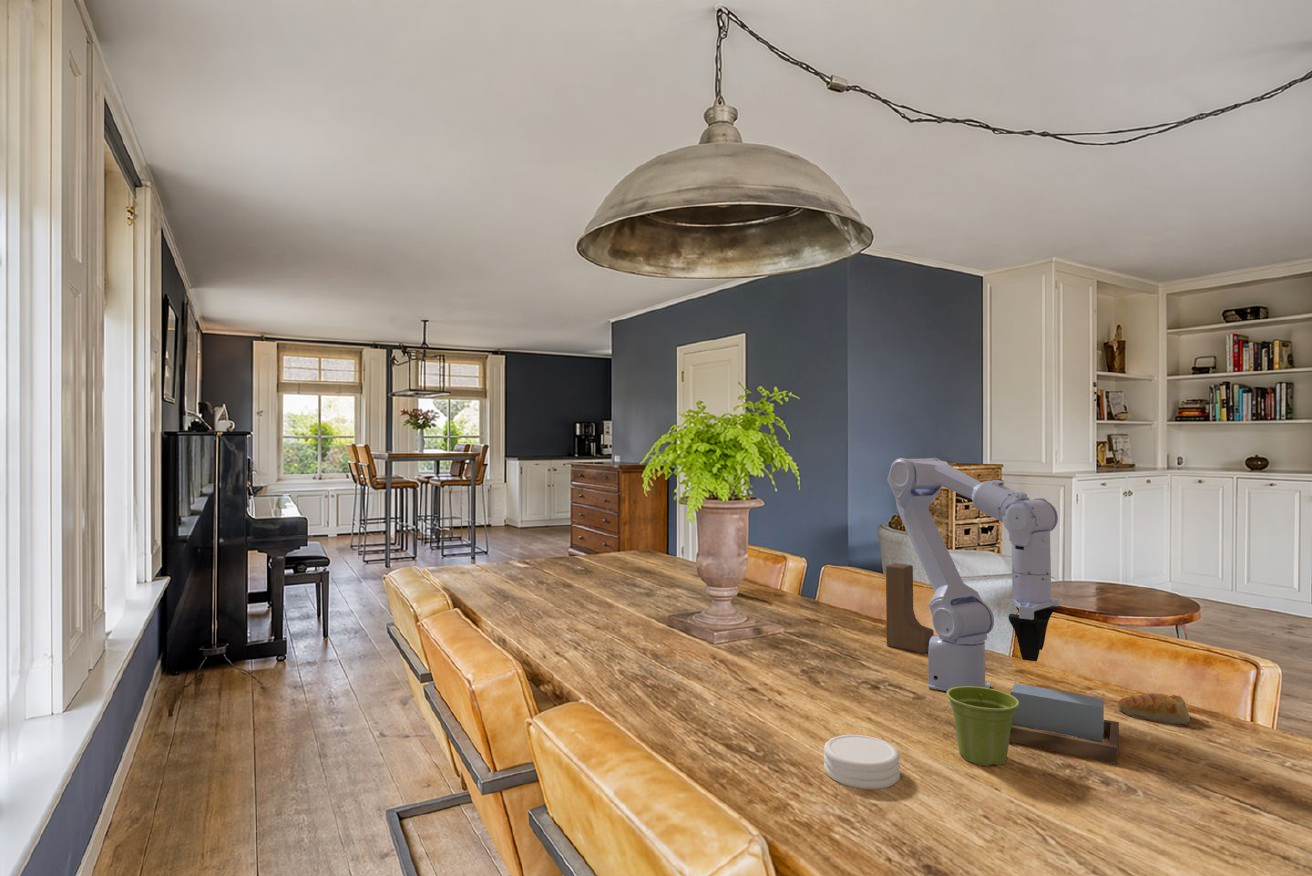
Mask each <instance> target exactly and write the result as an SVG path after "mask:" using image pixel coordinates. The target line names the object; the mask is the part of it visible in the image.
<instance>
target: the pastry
mask: <svg viewBox="0 0 1312 876" xmlns="http://www.w3.org/2000/svg"><path fill="white" fill-rule="evenodd" d="M1117 709H1118V710H1120V711H1121V712H1122V713H1124V714H1126V715H1128V716H1130V717H1131V718H1132V717H1133V718H1139V719H1144V720H1146V721H1147V720H1148V721H1151V722H1160V723H1168V724H1175V725H1176V724H1177V725H1188V723H1189V722H1190V720H1191V719H1190V718H1191V717H1190V714H1189V710H1188V708H1187V706H1186V702H1185V700H1184V699H1183V697H1182V696H1181V695H1175V694H1172V695H1168V694H1164V693H1163V694H1162V693H1156V692H1148V693H1146V694H1145V693H1143V694H1141V695H1139V694H1138V695H1134V694H1133V695H1131V696H1127V697H1126V696H1125V697H1122V698H1120V699H1119V700H1118V702H1117Z"/></svg>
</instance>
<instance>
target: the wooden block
mask: <svg viewBox="0 0 1312 876" xmlns="http://www.w3.org/2000/svg"><path fill="white" fill-rule="evenodd" d="M885 608H886V609H885V610H886V611H885V612H886V613H885V614H886V615H885V616H886V621H885V622H886V623H885V624H886V646H888V647H890V646H891V647H890V648H895V649H900V650H906V651H909V650H910V651H911V652H914V651H915V652H916V653H919V652H920V654H924V653H925V654H928V653H927V652H928V650H929V642H930V639H931V637H932V636H935V634H934V631H935V630H934V629H932V628H930V627H927V626H926V625H925V626H924V625H922V624H921V622H920V621H919V620H918V619H917V618H916V615H915V611H914V567H913V565H912V564H905V563H898V562H895V563H891V564H888V565H886V566H885Z"/></svg>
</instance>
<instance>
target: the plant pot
mask: <svg viewBox="0 0 1312 876" xmlns="http://www.w3.org/2000/svg"><path fill="white" fill-rule="evenodd" d="M946 697H947V699H948V700H949V701H950V706H951V708H952V713H953V719H954V720H953V721H954V726H955V732H956V739H957V746H958V752H959V753H958V754H959V755H960V756H962V757H963V758H964V759H965V761H968V762H970V763H972V764H977V765H980V766H986V767H989V766H991V765H997V766H1002V765H1004V764H1006V762H1007V760H1008V751H1009V743H1010V741H1009V738H1010V731H1011V725H1013V724H1012V719H1013V716H1014V715H1015V709H1016V708H1017V707H1018V706H1019V701H1018V700H1017V699H1016V698H1015V697H1014V696H1012V695H1011V693H1007V692H1004V691H1001V690H997V689H994V688H984V687H974V686H960V687H954V688H951V689H949V690H947V691H946Z"/></svg>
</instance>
